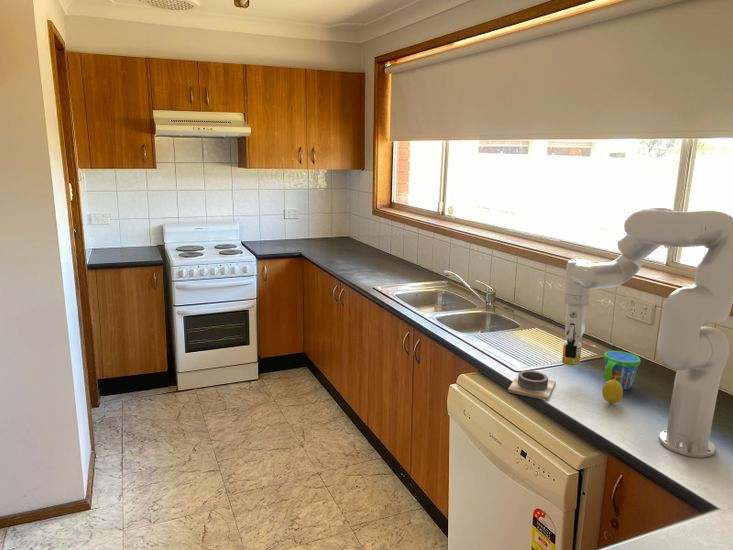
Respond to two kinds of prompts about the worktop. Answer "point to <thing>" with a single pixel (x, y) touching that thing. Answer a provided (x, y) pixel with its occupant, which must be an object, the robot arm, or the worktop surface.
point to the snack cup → (621, 367)
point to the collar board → (532, 385)
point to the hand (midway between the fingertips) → (571, 353)
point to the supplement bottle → (572, 361)
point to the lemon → (612, 391)
